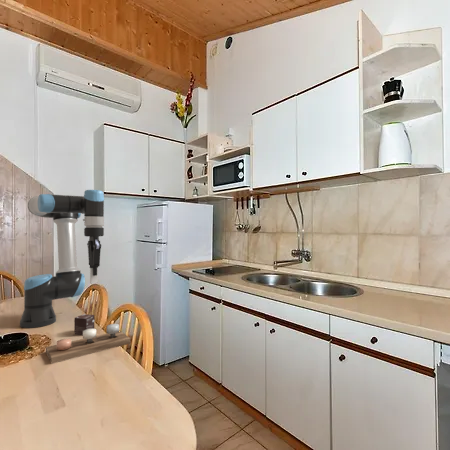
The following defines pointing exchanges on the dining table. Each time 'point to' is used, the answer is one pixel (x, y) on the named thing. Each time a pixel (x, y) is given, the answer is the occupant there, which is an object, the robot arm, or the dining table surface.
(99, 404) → the dining table surface
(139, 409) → the dining table surface
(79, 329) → the box
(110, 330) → the grey knob
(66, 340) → the pink rounded piece
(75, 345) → the panel
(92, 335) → the key ivory
